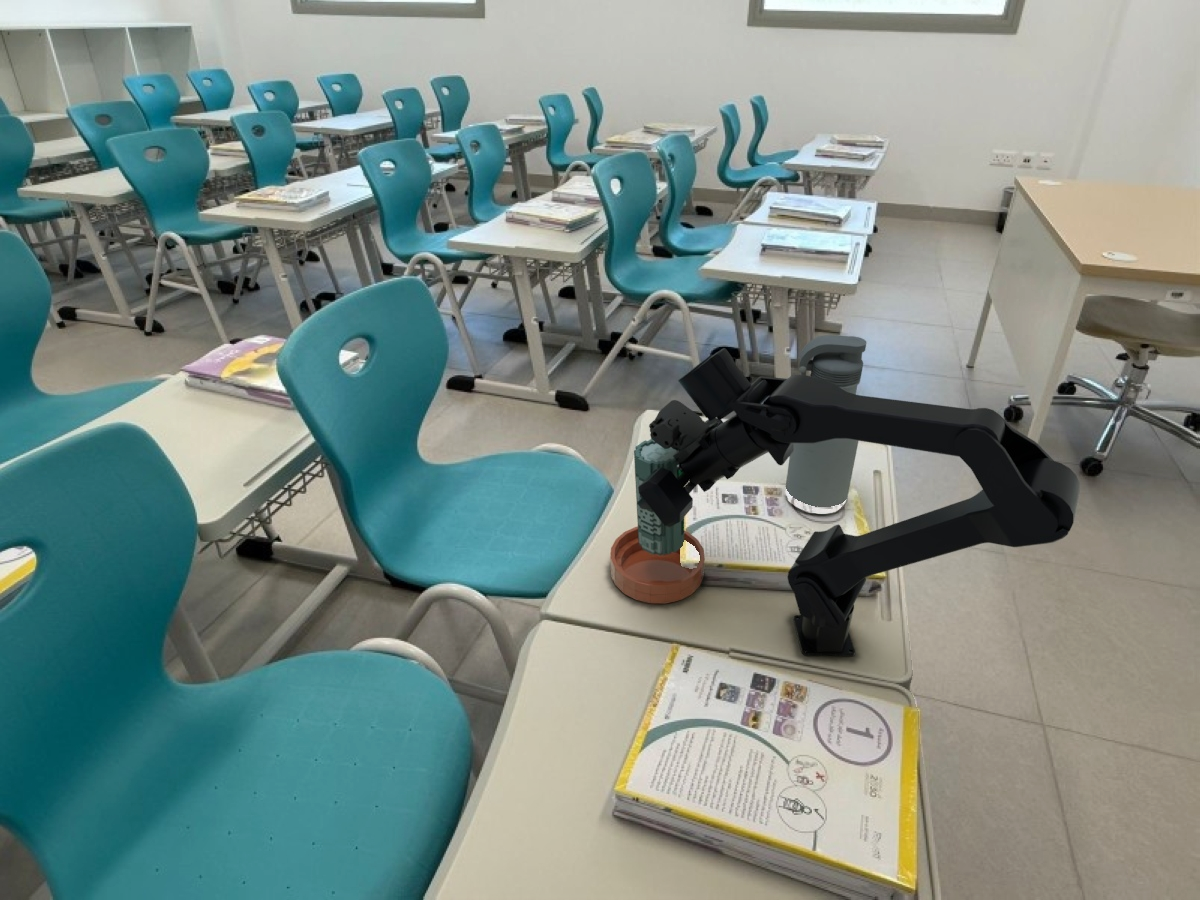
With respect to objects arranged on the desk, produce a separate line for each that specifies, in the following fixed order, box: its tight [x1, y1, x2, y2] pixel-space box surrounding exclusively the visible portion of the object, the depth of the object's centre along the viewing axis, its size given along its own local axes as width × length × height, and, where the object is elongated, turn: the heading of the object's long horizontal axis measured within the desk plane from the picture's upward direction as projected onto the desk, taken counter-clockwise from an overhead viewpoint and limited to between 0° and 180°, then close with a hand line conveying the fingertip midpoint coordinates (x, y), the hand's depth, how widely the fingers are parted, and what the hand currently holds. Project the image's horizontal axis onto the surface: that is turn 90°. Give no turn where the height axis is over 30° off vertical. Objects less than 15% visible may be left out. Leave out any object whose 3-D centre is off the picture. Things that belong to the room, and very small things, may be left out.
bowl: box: [610, 525, 706, 604], centre depth 103 cm, size 13×13×4 cm
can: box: [633, 438, 685, 556], centre depth 97 cm, size 6×6×15 cm
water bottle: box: [785, 334, 868, 507], centre depth 110 cm, size 10×10×28 cm
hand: (652, 492), depth 97 cm, fingers closed on can, 6 cm apart
